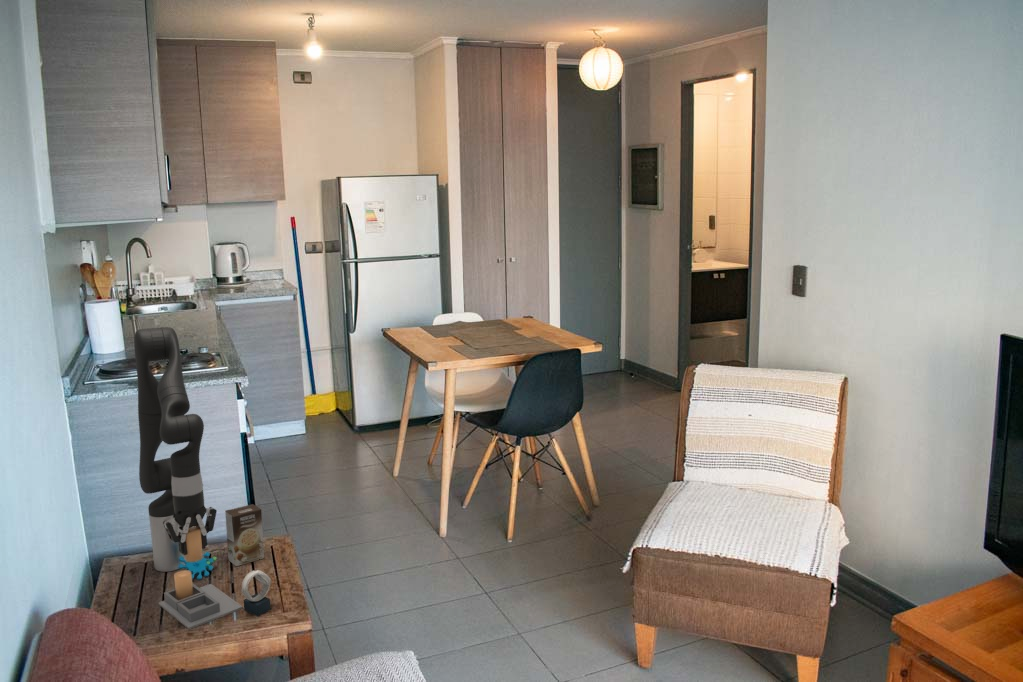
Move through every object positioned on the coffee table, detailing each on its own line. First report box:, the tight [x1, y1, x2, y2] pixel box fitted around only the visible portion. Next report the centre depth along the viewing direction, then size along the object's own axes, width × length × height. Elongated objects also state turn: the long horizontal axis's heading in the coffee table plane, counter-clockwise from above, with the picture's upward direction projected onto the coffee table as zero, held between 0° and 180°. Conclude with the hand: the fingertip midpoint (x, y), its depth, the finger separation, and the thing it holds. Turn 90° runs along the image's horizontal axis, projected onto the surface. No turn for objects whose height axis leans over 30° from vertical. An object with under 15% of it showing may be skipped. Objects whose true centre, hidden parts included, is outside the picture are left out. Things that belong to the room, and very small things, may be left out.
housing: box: [158, 569, 244, 631], centre depth 228 cm, size 19×15×9 cm
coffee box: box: [225, 503, 265, 567], centre depth 255 cm, size 9×6×16 cm
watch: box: [240, 569, 272, 617], centre depth 225 cm, size 6×8×11 cm
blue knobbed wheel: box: [178, 551, 217, 581], centre depth 248 cm, size 11×6×10 cm
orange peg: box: [185, 526, 204, 562], centre depth 221 cm, size 4×4×8 cm
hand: (193, 550), depth 221 cm, fingers closed on orange peg, 4 cm apart
